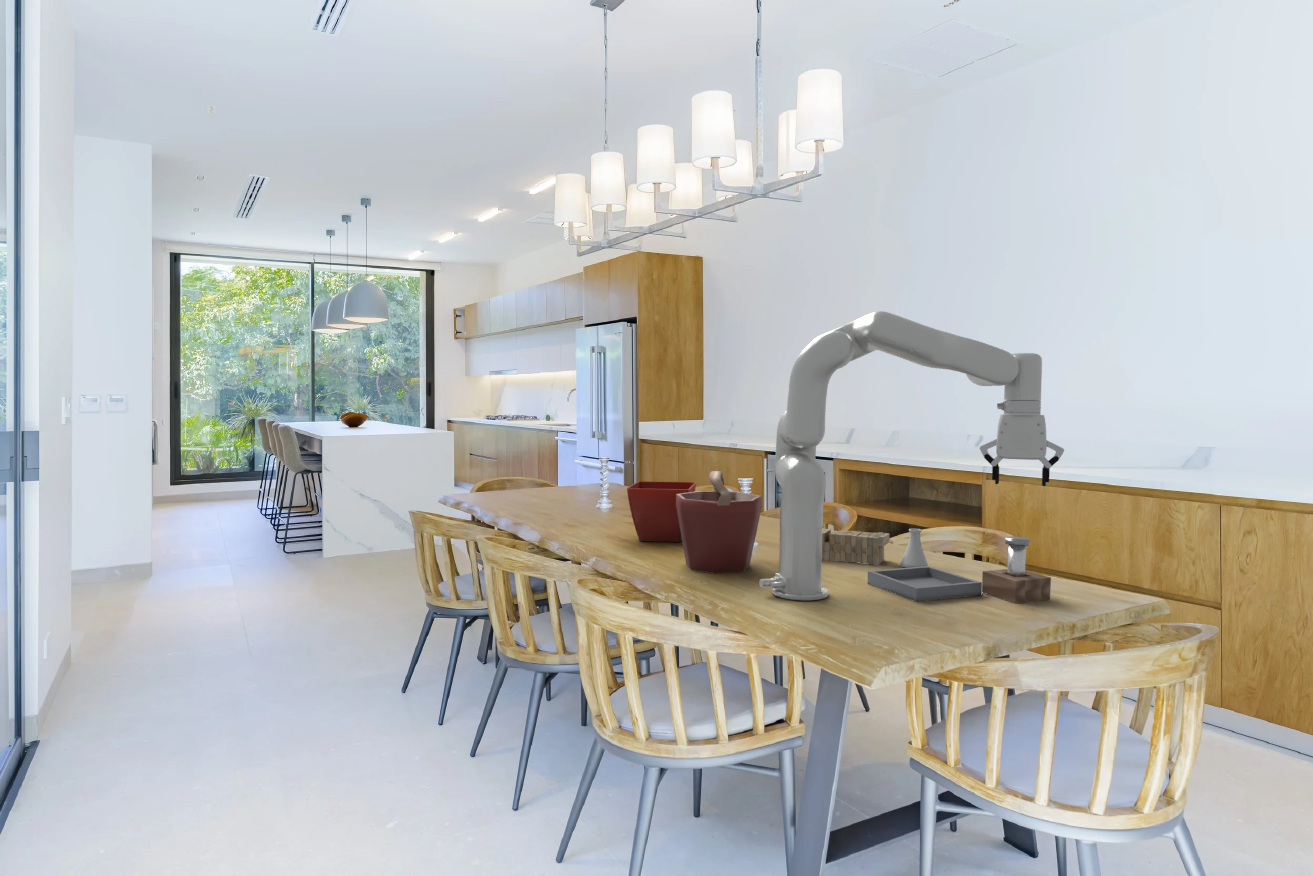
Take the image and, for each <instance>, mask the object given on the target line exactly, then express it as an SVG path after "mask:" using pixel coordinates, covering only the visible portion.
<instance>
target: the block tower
mask: <svg viewBox="0 0 1313 876" xmlns="http://www.w3.org/2000/svg"><path fill="white" fill-rule="evenodd" d="M889 543H890V533H888V532H887V533H886V532H885V533H884V532H882V531H881V532H880V531H879V532H867V531H866V532H865V531H857V530H844V529H842V530H840V531H838V530H837V531H832V529H831V528H830V529H829V528H822V561H827V560H831V561H830V562H838V561H846V562H845V563H848V562H860V563H866V564H865V565H869V564H876V565H875V566H879V565H881V564H882V563H883V560H885V546H887V545H888V544H889ZM881 562H882V563H881ZM867 563H868V564H867Z"/></svg>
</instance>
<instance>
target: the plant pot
mask: <svg viewBox="0 0 1313 876" xmlns="http://www.w3.org/2000/svg"><path fill="white" fill-rule="evenodd" d="M696 486H697V482H695V481H654V480H653V481H649V480H648V481H645V480H642V481H641V480H639V481H635V482H634V483H633V484H631V485H630V486H628V487H626V491H627V498H628V499H627V500H628V504H629V505H628V506H629V509H630V513H631V514H630V515H631V517H632V518H631V519H632V522H633V525H634V528H635V532H636V535H637V538H638V540H639V541H641V542H663V543H664V542H667V543H668V542H669V543H670V542H671V543H672V542H673V543H680V542H681V541H682V537H681V531H680V525H679V520H678V514H677V508H676V494H680V493H688V492H696V488H697V487H696Z"/></svg>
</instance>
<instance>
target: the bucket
mask: <svg viewBox="0 0 1313 876" xmlns="http://www.w3.org/2000/svg"><path fill="white" fill-rule="evenodd" d="M708 477H709V482H710V483H711V485H712V487H713V490H698V491H696V490H695V492H688V493H680V494H676V508H677V514H678V520H679V525H680V531H681V537H682V540H681V541H682V549H683V552H684V553H683V554H684V559H685V564H686V566H687V567H688V568H689V569H690V571H696V572H701V573H702V572H703V573H710V574H716V575H717V574H718V575H719V574H729V573H740V572H741V573H744V572H745V571H746V570H747V569H748V568H750V566H751V560H752V557H753V556H752V555H753V550H754V548H755V547H754V545H755V541H756V536H757V531H758V527H759V522H760V518H761V512H762V508H763V506H762V505H763V504H762V503H763V495H758V494H753V493H749V492H747V493H746V492H742V491H729V489H728V488H727V487H726V486H725V478H724V474H723V471H721V470H718V471H716V470H715V471H714V470H712V471H710V473H709V476H708Z"/></svg>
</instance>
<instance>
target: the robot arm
mask: <svg viewBox="0 0 1313 876" xmlns="http://www.w3.org/2000/svg"><path fill="white" fill-rule="evenodd" d="M875 351H880V352H882V353H886V354H889V355H891V356H895V357H897V358H900V359H903V360H905V361H909V362H911V363H913V364H916V365H920V366H922V367H927V368H931V369H938V370H939V369H940V370H941V369H942V370H948V371H949V370H950V371H954V372H959V373H963V374H966V377H967V378H968V380H969V381H970V382H971V383H973V384H975V385H977V386H979V387H980V386H981V387H992V386H993V387H995V386H996V387H997V386H998V387H1001V386H1004V394H1003V395H1004V397H1003V399H1004V400H1003V401H1002V402H1000V403H997V405H996V409H997V410H1001V411H1003V414H1000V415H999V419H998V423H997V433H996V439H993V440H991V441H989V442H986V443H985V444H983V445H980V446H979V450H980V452H981V454H982V456H983V458H984V459H985V460H986V462H988V463H989V464H990V465H991V469H992V470H991V481H994V484H995V485H998V484H1000V466H999V463H1000V462H1001V461H1002V460H1003V459H1006V460H1026V461H1027V460H1030V461H1031V460H1032V461H1033V460H1037V461H1038V460H1039V461H1040V463H1042V465H1043V466H1042V469H1041V470H1042V471H1041V472H1042V473H1041V486H1042V487H1046V486H1047V485H1046V483H1050V472H1051V471H1050V469H1051V467H1053V466H1054V465H1055V464H1056V463H1057V462H1058V461H1059V460H1060V458H1061V457H1062V455H1063V454H1064V452H1065V449H1064V448H1063V447H1062V446H1059V445H1057V444H1055V443H1053V442H1051V441H1049V440H1048V439H1047V423H1046V417H1045V415H1043V414H1041V408H1042V407H1041V406H1042V401H1041V400H1042V375H1043V371H1042V370H1043V361H1042V360H1043V358H1042V356H1041V355H1040V354H1038V353H1033V352H1027V353H1026V352H1024V353H1023V352H1018V353H1010V352H1009V351H1007V350H1004V349H1003V348H1000V347H996V346H993V345H992V344H988V343H985V342H982V341H980V340H975V339H972V338H969V337H964V336H961V335H957V334H953V333H951V332H947V331H943V330H939V329H936V328H934V327H931V326H928V325H924V324H921V323H919V322H916V321H913V320H910V319H908V318H905V317H902V316H899V315H897V314H894V313H891V312H889V311H883V310H882V311H880V310H879V311H874V312H871V313H869V314H865V315H864V316H862V317H860V318H857V319H855V320H853V321H851V322H848V323H846V324H845V325H842V326H840V327H837V328H835V329H831V330H830V331H828V332H825V333H822V334H821V335H818V336H817V337H815V338H814V339H813V340H812V341H811V342H810V343H809V344H807V345H806V346H805V348H804V349H802V351H801V352H800V354H799V355H798V356H797V358H796V360H795V361H794V363H793V366H792V369H791V372H790V375H789V376H790V377H789V382H788V383H789V384H788V392H787V402H786V405H787V406H786V410H785V411H784V412H783V413H782V415H780V418H779V420H778V424H777V427H776V438H775V439H776V444H775V458H774V459H775V460H774V473H775V479H776V481H777V483H778V484H779V486H780V487H781V494H780V495H781V497H780V507H779V508H780V509H779V556H778V557H779V559H778V560H779V563H778V565H779V567H778V572H774V576H772V577H771V578H760V579H759V582H758V584H759V588H761V589H762V588H770V589H771V593H772V594H773V595H774V596H775V597H779V598H781V599H785V600H792V601H819V600H823V599H825V598H827V597H828V596H829V590H828V589H827V588H826V587H825V586H823V585H822V572H823V570H822V566H823V564H822V563H823V562H822V561H823V560H822V529H824V528H823V527H824V525H823V524H824V523H823V522H824V521H823V518H824V515H823V514H824V504H825V503H824V502H825V494H826V484H827V481H826V480H827V479H826V473H825V471H824V468H823V466H822V465H821V463H820V462H819V461H818V460H817V459H816V456H817V455H816V454H817V453H816V452H817V447H818V445H819V444H820V443H821V442H823V439H824V437H825V433H826V405H827V396H828V387H829V383H830V380H831V377H832V376H833V375H834V373H835V372H836V371H837V370H839V369H842V368H844V367H846V366H847V365H848V364H849V363H850V362H853V361H855V360H858V359H860V358H862V357H864V356H866V355H869V354H870V353H873V352H875ZM993 447H996V456H995V458H993V457H992V455H990V453H989V451H988V450H989V449H991V448H993ZM1047 448H1048V449H1051V450H1053V451H1055V454H1054V455H1053V456H1052V457H1051V458H1050V459H1049V460H1048V459H1047V458H1046V455H1047Z"/></svg>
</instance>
